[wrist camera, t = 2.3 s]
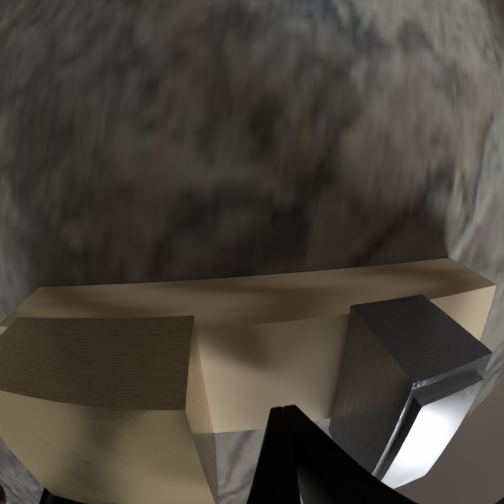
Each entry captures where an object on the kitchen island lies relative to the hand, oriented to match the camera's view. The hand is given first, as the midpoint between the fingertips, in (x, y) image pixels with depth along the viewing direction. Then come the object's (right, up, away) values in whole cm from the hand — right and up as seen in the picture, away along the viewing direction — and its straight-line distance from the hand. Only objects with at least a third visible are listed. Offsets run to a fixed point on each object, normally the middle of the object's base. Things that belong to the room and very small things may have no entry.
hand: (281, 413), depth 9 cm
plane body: (-1, +2, +5) cm, 6 cm away
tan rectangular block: (-6, 0, +1) cm, 6 cm away
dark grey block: (+4, +1, +2) cm, 4 cm away
